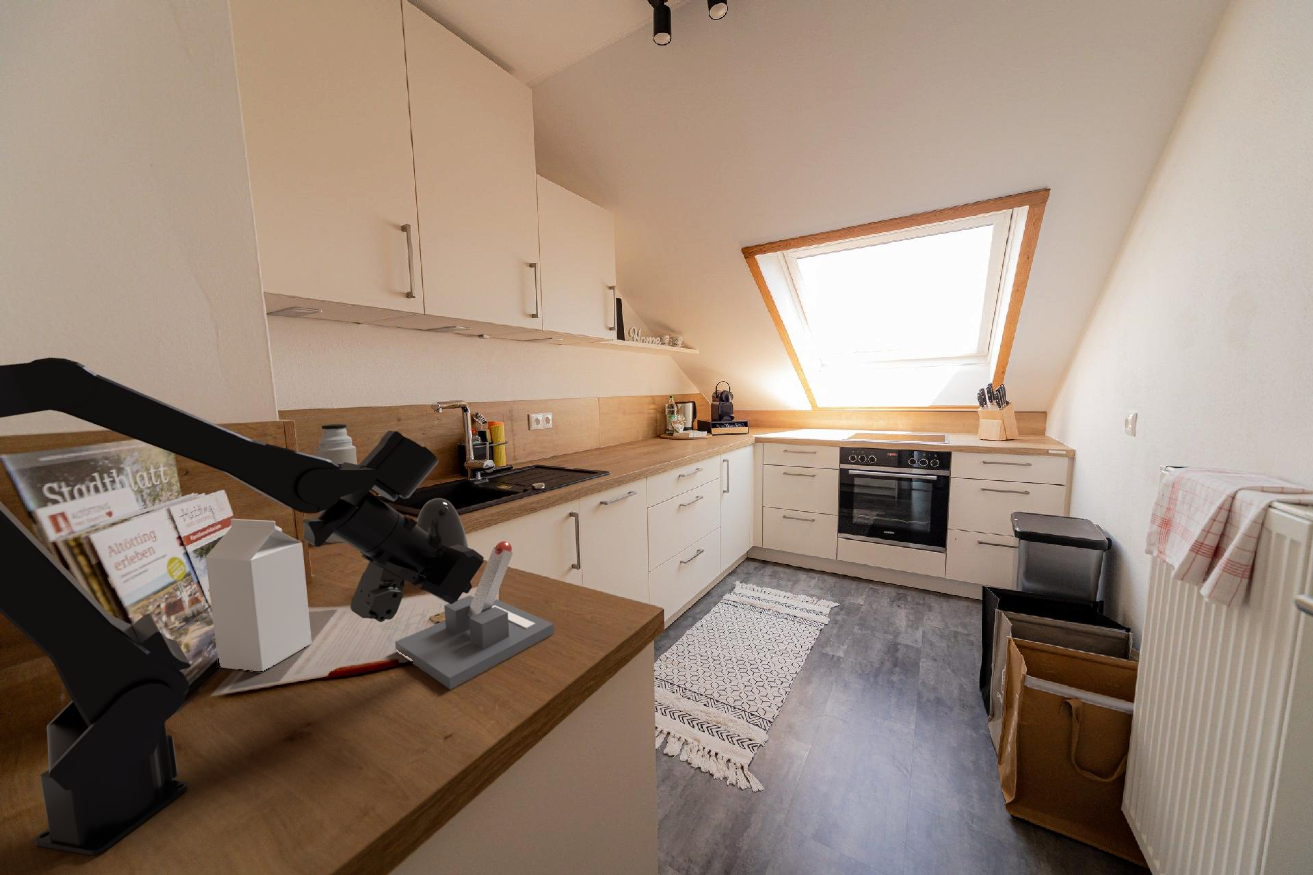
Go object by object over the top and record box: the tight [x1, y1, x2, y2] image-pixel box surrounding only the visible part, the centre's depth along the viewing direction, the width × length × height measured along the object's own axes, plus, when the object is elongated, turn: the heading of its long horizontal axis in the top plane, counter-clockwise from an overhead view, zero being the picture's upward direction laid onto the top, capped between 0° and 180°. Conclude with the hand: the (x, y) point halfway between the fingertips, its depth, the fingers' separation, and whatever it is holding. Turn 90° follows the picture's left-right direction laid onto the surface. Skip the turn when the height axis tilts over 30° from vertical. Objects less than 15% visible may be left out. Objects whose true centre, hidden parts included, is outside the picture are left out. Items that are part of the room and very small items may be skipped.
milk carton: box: [205, 518, 313, 672], centre depth 64 cm, size 7×7×19 cm
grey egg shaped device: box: [416, 497, 469, 548], centre depth 91 cm, size 10×10×15 cm
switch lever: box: [466, 541, 514, 617], centre depth 69 cm, size 2×3×11 cm
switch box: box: [394, 595, 555, 691], centre depth 67 cm, size 16×14×5 cm
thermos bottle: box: [315, 423, 358, 544], centre depth 115 cm, size 8×8×28 cm
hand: (468, 589), depth 66 cm, fingers closed
